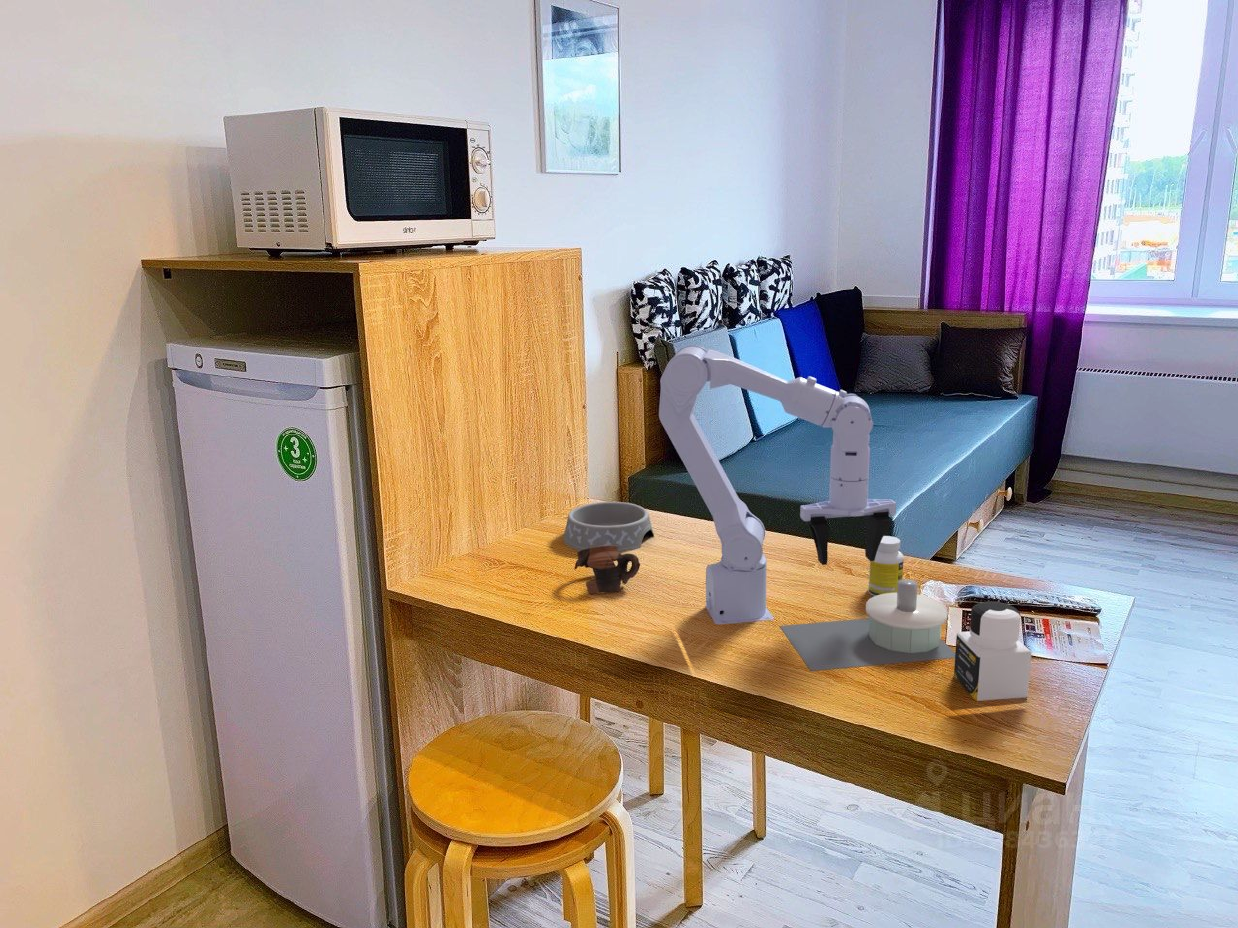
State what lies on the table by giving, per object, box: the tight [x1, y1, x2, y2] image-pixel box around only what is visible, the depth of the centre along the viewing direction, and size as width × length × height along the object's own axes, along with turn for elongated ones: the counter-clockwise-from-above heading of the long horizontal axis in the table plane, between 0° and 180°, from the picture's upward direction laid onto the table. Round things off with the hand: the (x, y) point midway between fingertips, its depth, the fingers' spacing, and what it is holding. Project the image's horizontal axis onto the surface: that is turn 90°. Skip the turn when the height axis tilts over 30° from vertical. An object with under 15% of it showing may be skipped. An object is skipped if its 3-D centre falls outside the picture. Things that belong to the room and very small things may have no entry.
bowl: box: [869, 617, 942, 653], centre depth 143 cm, size 10×10×4 cm
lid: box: [865, 578, 949, 630], centre depth 142 cm, size 12×12×5 cm
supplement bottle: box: [867, 535, 905, 597], centre depth 159 cm, size 5×5×10 cm
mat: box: [779, 617, 955, 672], centre depth 143 cm, size 22×15×1 cm
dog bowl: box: [562, 501, 655, 553], centre depth 192 cm, size 17×18×5 cm
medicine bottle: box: [953, 600, 1032, 702], centre depth 127 cm, size 7×7×12 cm
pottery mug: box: [573, 545, 641, 595], centre depth 168 cm, size 12×10×8 cm
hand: (846, 560), depth 149 cm, fingers open, 7 cm apart
